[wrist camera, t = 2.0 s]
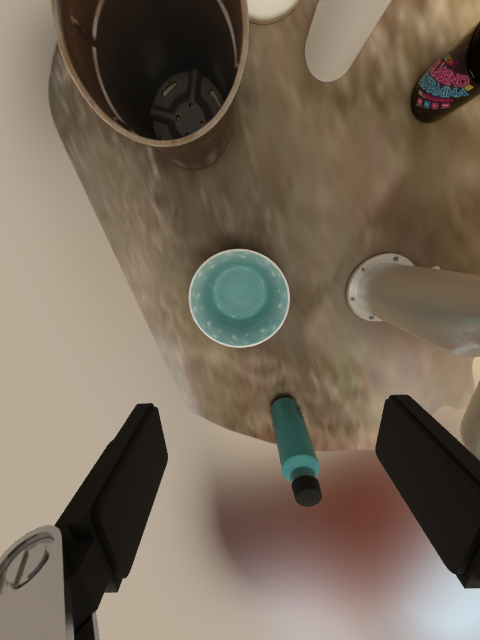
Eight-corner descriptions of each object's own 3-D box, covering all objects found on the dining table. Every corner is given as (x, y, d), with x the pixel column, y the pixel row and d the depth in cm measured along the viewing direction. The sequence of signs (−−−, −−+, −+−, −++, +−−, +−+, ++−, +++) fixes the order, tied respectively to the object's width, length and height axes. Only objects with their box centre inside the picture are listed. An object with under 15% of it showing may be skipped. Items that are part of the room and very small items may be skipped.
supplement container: (424, 58, 31) (510, -29, 21) (467, 74, 31) (570, -3, 21) (400, 116, 33) (468, 63, 23) (441, 131, 33) (523, 84, 24)
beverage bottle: (263, 406, 51) (276, 503, 32) (281, 386, 49) (306, 477, 30) (285, 419, 52) (310, 520, 33) (304, 400, 50) (341, 496, 31)
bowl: (193, 250, 40) (181, 252, 32) (280, 244, 39) (290, 245, 31) (203, 331, 45) (195, 350, 37) (281, 326, 44) (289, 345, 36)
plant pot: (268, 126, 33) (289, 31, 18) (196, 208, 37) (164, 185, 22) (187, 19, 30) (131, -216, 14) (117, 122, 33) (12, 23, 18)
